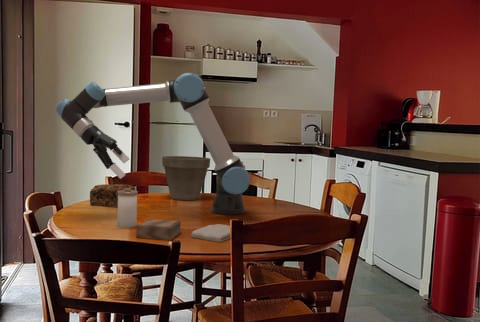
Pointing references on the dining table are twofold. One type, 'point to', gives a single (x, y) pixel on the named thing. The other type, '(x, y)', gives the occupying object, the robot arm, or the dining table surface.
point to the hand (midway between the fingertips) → (124, 169)
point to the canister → (127, 208)
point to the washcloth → (213, 233)
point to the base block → (158, 229)
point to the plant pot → (185, 176)
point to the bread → (106, 194)
